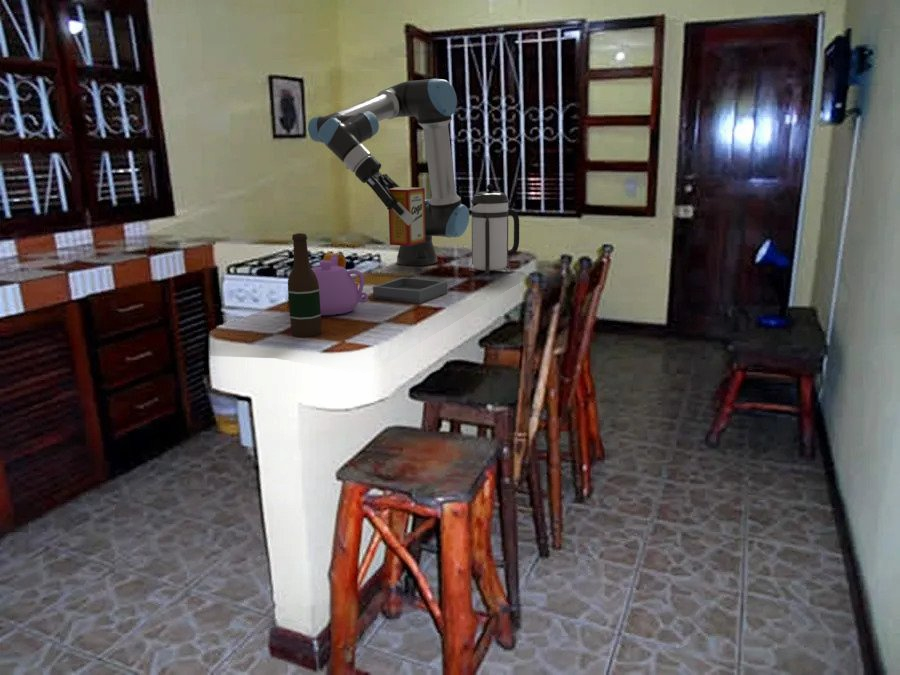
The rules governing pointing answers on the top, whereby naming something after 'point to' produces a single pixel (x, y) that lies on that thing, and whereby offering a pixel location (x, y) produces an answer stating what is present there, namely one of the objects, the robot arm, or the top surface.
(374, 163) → the robot arm
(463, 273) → the top surface
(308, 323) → the beer bottle
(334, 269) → the teapot
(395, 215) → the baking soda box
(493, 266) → the coffee press
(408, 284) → the tray
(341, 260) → the bracket
